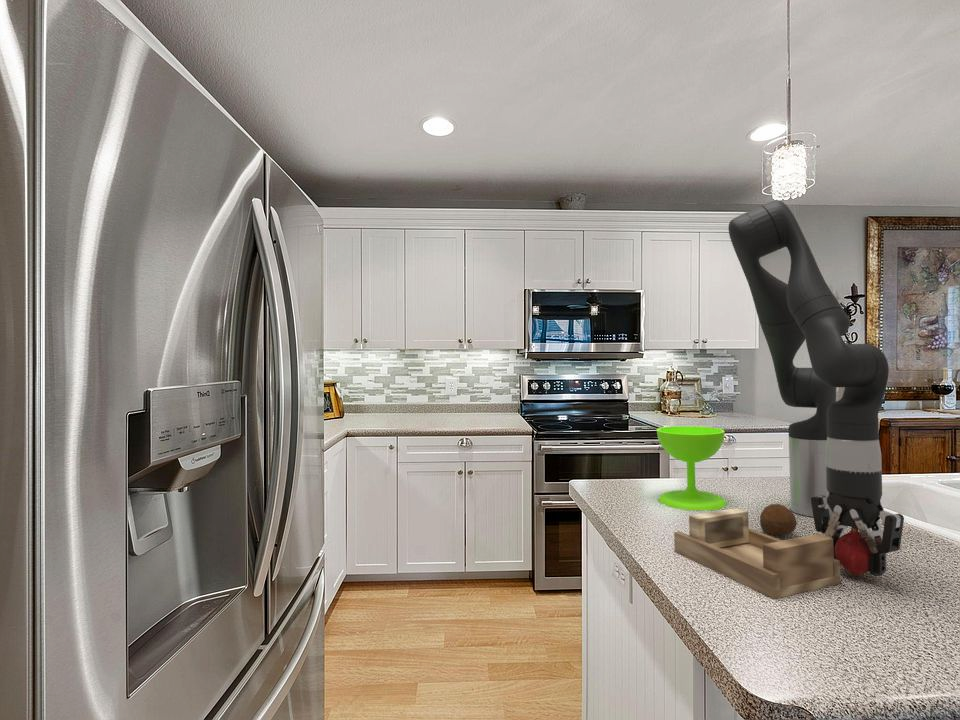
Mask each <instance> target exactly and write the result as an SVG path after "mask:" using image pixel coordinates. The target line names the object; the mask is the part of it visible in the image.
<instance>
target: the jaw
mask: <svg viewBox="0 0 960 720" xmlns="http://www.w3.org/2000/svg"><path fill="white" fill-rule="evenodd" d="M688 524H689V525H688V527H689V530H688V531H689V532H688V533H689V534H688V535H689V536H692V537H694V538H696V539H699V540H701V541H704V542H706V543H708V544H711V545H713V546H715V547H718V548H720V547H726V546H731V545H737V544H742V543H748V542H749V529H750V527H749V526H750V524H749V510H745V509H741V508H740V507H739V508H738V507H736V508H730V509H723V510H717V511H716V510H715V511H710V512H709V511H708V512H703V513H698V514H697V513H695V514H692V515H691V514H690V515H688Z"/></svg>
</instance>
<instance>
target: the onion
mask: <svg viewBox="0 0 960 720" xmlns="http://www.w3.org/2000/svg"><path fill="white" fill-rule="evenodd" d="M869 552H871V551H870V549H869V547H868V545H867V542H866V540H865V539H864V538H862V536H861V534H860V532H859V530H857V529H854V528H852V527H851V528H850V531H849V532H847V533H845V534H842V535H841V537H840V538H839V539H838V540H837V542H836V544H835V556H836V559H837V560H839V561H840V566H842V568H843V569H844V570H845V571H847V572H848V573H850V574H851V575H852V576H854V577H859V576H862V575H864V574H867V573H869Z"/></svg>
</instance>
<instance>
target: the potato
mask: <svg viewBox="0 0 960 720" xmlns="http://www.w3.org/2000/svg"><path fill="white" fill-rule="evenodd" d="M761 511H762V512H761V513H760V516H759V523H760V524H759V525H760V527H761V530H762V531H763V533H764V534H766V535H769V536H771V537H774V538H779V537H785V536H786V537H787V536H788V535H790V534H792V533H793V532H794V531H795V529H796V527H797V525H798V521H797V518H796V516H795V514H794V512H793V511H791V509H789V508H788V507H787V506H785V505H783V504H779V503H773V504H772V503H771V504H769V505H768V506H766V507H764V508H763V510H761Z"/></svg>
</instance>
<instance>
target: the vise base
mask: <svg viewBox="0 0 960 720" xmlns="http://www.w3.org/2000/svg"><path fill="white" fill-rule="evenodd" d="M673 535H674V536H673V538H674V539H673V541H674V544H673V545H674V552H675V553H677V554H679V555H682V556H685V557H686V558H687V559H690V560H693V561H695V562H697V563H699V564H701V565H703V566H705V567H707V568H709V569H712V570H713V571H715V572H718V573H720V574H722V575H723V576H725V577H727V578H730V579H732V580H734V581H736V582H738V583H740V584H742V585H744V586H746V587H748V588H750V587H751V588H750V589H753V590H755V591H757V592H759V593H760V594H763V595H765V596H767V597H770V598H771V599H773V600H775V599H780V598H784V597H787V596H793V595H797V594H801V593H806V592H809V591H815V590H818V589H822V588H826V587H831V586H835V585H839V584H841V564H840V561H839V560H836V559H834V546H833V538H830V537H827V536H825V534H820V533H816V534H812V535H806V536H799V537H795V538H790V539H785V540H782V539H779V538H778V537H774V536H770V535H768V534H766V533H764V532H759V531H757V530H754V529H752V528H749V542H748V543H742V544H737V545H731V546H726V547H720V548H718V547H715V546H713V545H711V544H708V543H706V542H704V541H701V540H699V539H696V538H694V537H692V536H690V535H689V534H687V533H684V532H682V531H681V530H679V531H678V530H677V531H673Z"/></svg>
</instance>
